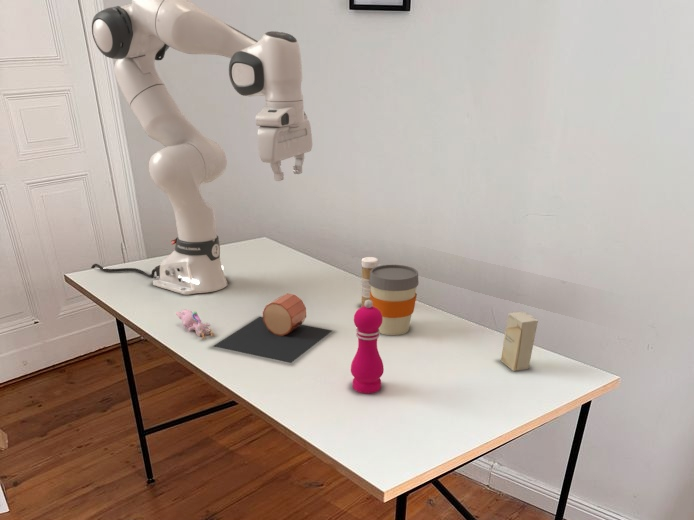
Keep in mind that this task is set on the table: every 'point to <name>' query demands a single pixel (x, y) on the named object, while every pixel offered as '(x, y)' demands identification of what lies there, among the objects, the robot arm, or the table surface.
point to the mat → (273, 341)
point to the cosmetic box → (519, 340)
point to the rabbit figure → (194, 323)
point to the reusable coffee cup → (394, 296)
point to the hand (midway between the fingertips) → (288, 177)
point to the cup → (284, 314)
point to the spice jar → (367, 277)
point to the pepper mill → (367, 350)
